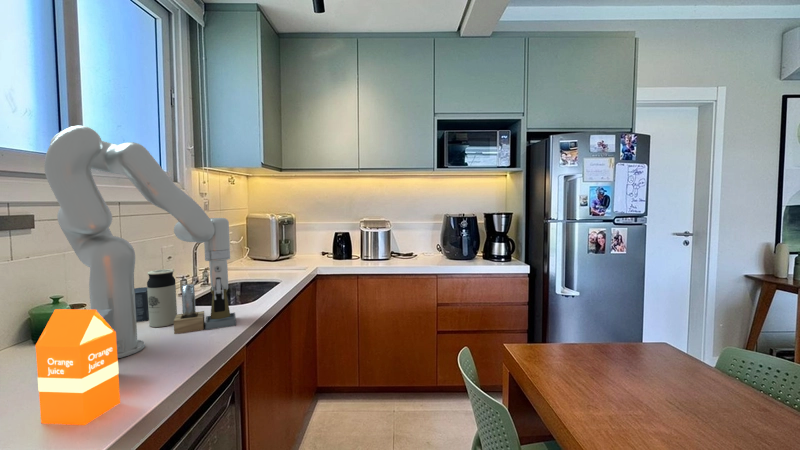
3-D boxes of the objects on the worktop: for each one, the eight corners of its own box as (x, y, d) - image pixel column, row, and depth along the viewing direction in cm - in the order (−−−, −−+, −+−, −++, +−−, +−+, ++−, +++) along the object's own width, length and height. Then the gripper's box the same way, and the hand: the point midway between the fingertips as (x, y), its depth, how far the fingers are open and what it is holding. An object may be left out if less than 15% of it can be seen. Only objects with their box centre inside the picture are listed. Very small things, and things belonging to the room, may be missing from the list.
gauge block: (203, 329, 117) (202, 317, 117) (174, 333, 114) (173, 321, 114) (204, 322, 125) (204, 311, 124) (177, 326, 121) (176, 314, 121)
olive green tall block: (207, 316, 123) (205, 284, 122) (226, 312, 127) (224, 281, 127) (214, 320, 119) (212, 286, 118) (233, 316, 123) (231, 283, 123)
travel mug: (168, 319, 129) (165, 268, 128) (182, 321, 126) (179, 269, 125) (144, 326, 122) (141, 272, 121) (158, 329, 119) (155, 273, 118)
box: (136, 316, 133) (134, 287, 133) (154, 314, 135) (153, 286, 135) (127, 323, 126) (125, 292, 125) (146, 321, 128) (145, 291, 127)
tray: (236, 325, 121) (235, 319, 121) (205, 329, 117) (204, 323, 117) (235, 318, 129) (235, 312, 129) (206, 322, 125) (206, 316, 125)
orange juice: (80, 401, 74) (74, 303, 73) (121, 402, 74) (115, 304, 73) (39, 424, 67) (31, 315, 66) (84, 425, 66) (76, 315, 65)
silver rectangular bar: (196, 328, 118) (193, 285, 118) (183, 330, 117) (180, 287, 116) (196, 325, 122) (194, 283, 121) (184, 327, 120) (181, 285, 119)
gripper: (230, 257, 116) (232, 314, 117) (229, 251, 131) (231, 302, 132) (203, 259, 113) (206, 318, 114) (205, 253, 128) (208, 305, 129)
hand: (219, 309), depth 123 cm, fingers open, 4 cm apart
